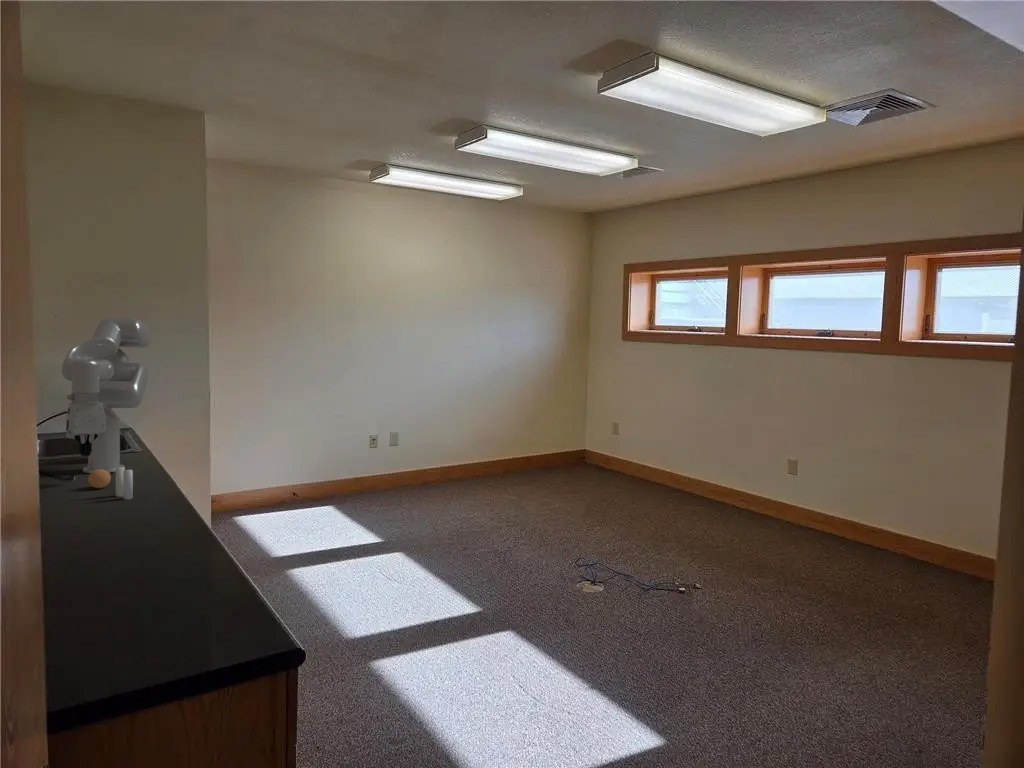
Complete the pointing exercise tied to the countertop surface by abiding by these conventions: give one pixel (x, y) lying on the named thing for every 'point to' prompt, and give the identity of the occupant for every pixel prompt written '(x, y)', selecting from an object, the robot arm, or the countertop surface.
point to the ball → (99, 478)
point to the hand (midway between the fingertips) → (85, 455)
